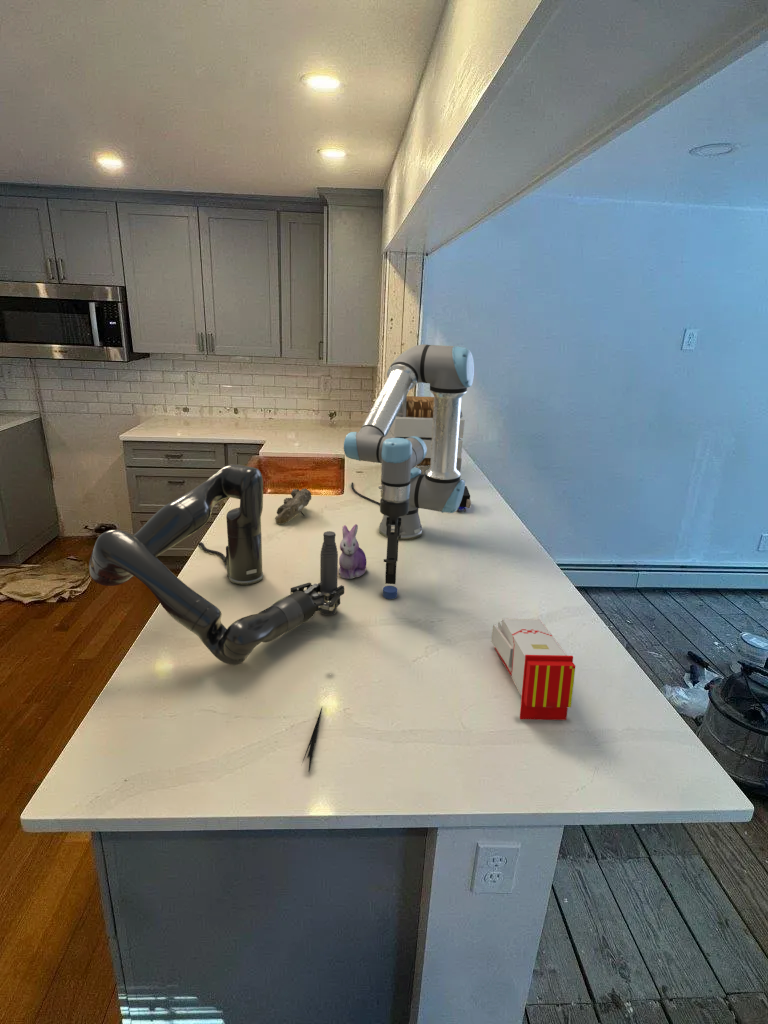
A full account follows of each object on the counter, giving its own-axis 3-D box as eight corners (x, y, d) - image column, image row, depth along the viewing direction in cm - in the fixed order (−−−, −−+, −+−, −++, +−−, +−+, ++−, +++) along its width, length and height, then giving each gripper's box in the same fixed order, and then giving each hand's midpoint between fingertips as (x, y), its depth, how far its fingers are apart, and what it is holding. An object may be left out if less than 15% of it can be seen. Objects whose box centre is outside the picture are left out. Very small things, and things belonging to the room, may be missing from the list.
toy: (537, 603, 136) (584, 662, 106) (532, 655, 138) (577, 726, 109) (487, 602, 135) (520, 661, 106) (483, 654, 138) (514, 725, 109)
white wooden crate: (382, 463, 289) (386, 382, 275) (445, 464, 293) (451, 384, 279) (390, 482, 257) (394, 392, 243) (460, 483, 261) (468, 394, 247)
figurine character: (470, 516, 223) (465, 500, 237) (473, 499, 220) (467, 484, 233) (453, 516, 223) (449, 500, 236) (455, 498, 220) (451, 483, 233)
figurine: (344, 582, 162) (345, 534, 157) (330, 568, 171) (331, 521, 166) (373, 577, 167) (375, 529, 162) (359, 563, 175) (360, 517, 170)
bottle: (339, 613, 147) (340, 535, 139) (323, 616, 145) (324, 537, 137) (333, 605, 150) (334, 529, 143) (317, 608, 148) (318, 531, 141)
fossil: (280, 494, 222) (309, 474, 217) (296, 512, 224) (325, 493, 219) (264, 519, 202) (296, 497, 197) (282, 539, 205) (313, 518, 200)
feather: (331, 679, 122) (336, 673, 122) (307, 777, 96) (313, 769, 95) (324, 675, 122) (329, 669, 121) (298, 772, 95) (304, 764, 95)
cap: (379, 594, 157) (379, 587, 157) (391, 590, 159) (392, 584, 159) (387, 600, 154) (388, 593, 153) (400, 597, 156) (400, 590, 156)
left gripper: (269, 616, 139) (314, 590, 153) (313, 636, 132) (357, 607, 145) (268, 589, 137) (314, 565, 150) (313, 607, 129) (358, 580, 143)
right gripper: (383, 482, 159) (380, 551, 167) (377, 515, 136) (374, 593, 143) (410, 484, 159) (406, 553, 166) (408, 516, 135) (404, 594, 143)
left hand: (335, 586), depth 148 cm, fingers closed on bottle, 4 cm apart
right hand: (391, 571), depth 155 cm, fingers open, 13 cm apart
